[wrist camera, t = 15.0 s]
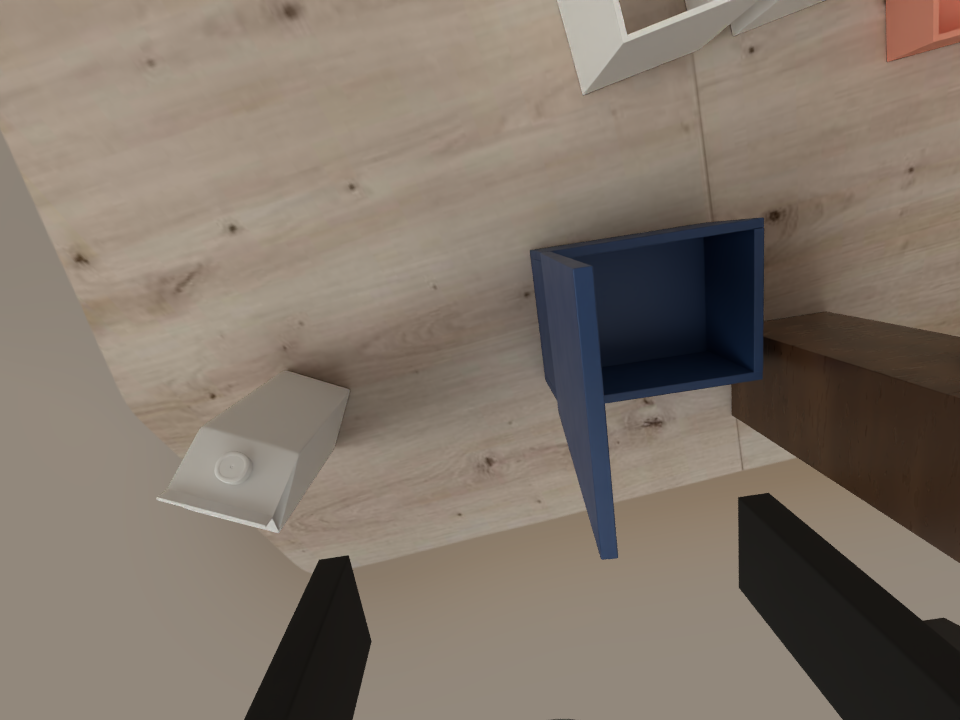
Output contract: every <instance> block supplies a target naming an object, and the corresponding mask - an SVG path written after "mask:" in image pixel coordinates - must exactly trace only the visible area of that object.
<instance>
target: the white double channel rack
mask: <svg viewBox="0 0 960 720" xmlns="http://www.w3.org/2000/svg"><path fill="white" fill-rule="evenodd" d="M823 1H825V0H685V3H686V8H687V11H686V12H683V13H681V14H678V15H676V16H673V17H671V18H668V19H666V20H663V21H661V22H658V23H656V24H653V25H651V26H648V27H646V28H643V29H641V30H638V31H636V32H633V33H631V34H628V35H627V32H626V28H625V24H624V20H623V16H622V12H621V7H620V3H619V0H557V2H558V6H559V9H560V13H561V17H562V20H563V24H564V28H565V31H566V35H567V39H568V42H569V46H570V50H571V53H572V57H573V61H574V64H575V68H576V72H577V75H578V79H579V83H580V86H581V90H582V94H583V95H585V94H588V93H590V92H593V91H595V90H598V89H601V88H603V87H606V86H608V85H611V84H613V83H616V82H618V81H621V80H624V79H626V78H629V77H631V76H634V75H636V74H639V73H641V72H644V71H646V70H649V69H652V68H654V67H657V66H659V65H662V64H664V63H667V62H669V61H672V60H675V59H677V58H680V57H682V56H685V55H687V54H690V53H692V52H695V51H698V50H700V49H701V48H702V47H703V46H705V45H706V44H707V43H708V42H709V41H711V40H712V39H713V38H714V37H715V36H717V35H718V34H719V33H720V32H721V31H723V30H724V29H725V28H726V27H727V26H728V25H730V24H731V30H732V35H733V36H736V35H738V34H741V33H744V32H746V31H749V30H751V29H754V28H756V27H759V26H761V25H764V24H767V23H769V22H772V21H774V20H777V19H779V18H782V17H784V16H787V15H789V14H792V13H795V12H797V11H800V10H802V9H805V8H807V7H810V6H812V5H815V4H818V3H820V2H823Z"/></svg>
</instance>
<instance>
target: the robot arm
mask: <svg viewBox="0 0 960 720" xmlns="http://www.w3.org/2000/svg"><path fill="white" fill-rule="evenodd" d="M738 511H739V512H738V518H739V519H738V520H739V521H738V522H739V588H740V589H741V591H742V592H743V593H744V594H745V596H746V597H747V598H748V600H749V601H750V602H751V604H752V605H753V606H754V607H755V609H756V610H757V611H758V612H759V614H760V615H761V616H762V617H763V619H764V620H765V621H766V623H767V624H768V625H769V626H770V628H771V629H772V630H773V631H774V633H775V634H776V635H777V637H778V638H779V639H780V640H781V642H782V643H783V644H784V645H785V647H786V648H787V649H788V651H789V652H790V653H791V654H792V656H793V657H794V658H795V659H796V661H797V662H798V663H799V665H800V666H801V667H802V668H803V670H804V671H805V672H806V673H807V675H808V676H809V677H810V679H811V680H812V681H813V682H814V684H815V685H816V686H817V687H818V689H819V690H820V691H821V692H822V694H823V695H824V696H825V697H826V699H827V700H828V701H829V703H830V704H831V705H832V706H833V708H834V709H835V710H836V712H837V713H838V714H839V715H840V717H841V718H842V719H843V720H960V626H959V625H957V624H955V623H953V622H951V621H949V620H947V619H945V618H939V619H932V620H925V621H922V620H921V619H920V618H918V617H917V616H916V615H915V614H914V613H913V612H911V611H910V610H909V609H908V608H907V607H905V606H904V605H903V604H902V603H900V602H899V601H898V600H897V599H896V598H894V597H893V596H892V595H891V594H890V593H888V592H887V591H886V590H885V589H883V588H882V587H881V586H880V585H879V584H878V583H876V582H875V581H874V580H873V579H871V578H870V577H869V576H868V575H867V574H866V573H864V572H863V571H862V570H861V569H860V568H858V567H857V566H856V565H855V564H854V563H852V562H851V561H850V560H849V559H848V558H846V557H845V556H844V555H843V554H841V553H840V552H839V551H838V550H837V549H835V548H834V547H833V546H832V545H831V544H829V543H828V542H827V541H826V540H824V539H823V538H822V537H821V536H820V535H819V534H817V533H816V532H815V531H814V530H813V529H811V528H810V527H809V526H808V525H807V524H805V523H804V522H803V521H802V520H801V519H799V518H798V517H797V516H795V515H794V514H793V513H792V512H791V511H790V510H788V509H787V508H786V507H785V506H784V505H782V504H781V503H780V502H779V501H778V500H776V499H775V498H774V497H773V496H772V495H770V494H769V493H765V494H758V495H751V496H744V497H739V498H738ZM370 645H371V638H370V634H369V630H368V627H367V623H366V619H365V615H364V611H363V608H362V604H361V600H360V596H359V593H358V589H357V585H356V582H355V577H354V574H353V570H352V566H351V562H350V559H349V555H348V556H341V557H335V558H328V559H321V560H319V561H318V563H317V566H316V568H315V570H314V572H313V574H312V576H311V578H310V581H309V583H308V585H307V587H306V589H305V591H304V593H303V595H302V598H301V600H300V602H299V604H298V607H297V608H296V611H295V612H294V615H293V617H292V619H291V621H290V623H289V625H288V627H287V629H286V632H285V634H284V636H283V638H282V640H281V642H280V644H279V647H278V649H277V651H276V653H275V655H274V657H273V659H272V662H271V664H270V666H269V668H268V670H267V672H266V674H265V676H264V679H263V681H262V683H261V685H260V687H259V689H258V691H257V693H256V695H255V698H254V700H253V702H252V704H251V706H250V708H249V710H248V712H247V715H246V717H245V719H244V720H352V719H353V715H354V711H355V707H356V703H357V698H358V695H359V690H360V686H361V682H362V678H363V674H364V670H365V666H366V661H367V658H368V653H369V649H370Z"/></svg>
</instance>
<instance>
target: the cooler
mask: <svg viewBox="0 0 960 720" xmlns="http://www.w3.org/2000/svg"><path fill="white" fill-rule="evenodd" d="M763 227H764V218H752V219H740V220H729V221H718V222H706V223H700V224H694V225H687V226H681V227H675V228H668V229H662V230H656V231H649V232H643V233H637V234H630V235H624V236H618V237H611V238H605V239H598V240H592V241H586V242H579V243H573V244H567V245H560V246H554V247H548V248H541V249H535V250H530V256H531V265H532V273H533V281H534V289H535V298H536V306H537V314H538V322H539V331H540V339H541V347H542V355H543V364H544V372H545V380H546V382H547V384H548V385H549V387H550V389H551V391H552V392H553V394H554V396H555V398H556V399H557V393H556V385H555V376H554V367H553V359H552V350H551V341H550V333H549V324H548V315H547V307H546V298H545V289H544V281H543V272H542V264H541V255H540V253H543V252H549V251H550V252H553V253H556V254H559V255H562V256H565V257H568V258H570V259H573V260H576V261H579V262H582V263H585V264H588V265H591V266H593V275H594V286H595V298H596V309H597V321H598V332H599V344H600V355H601V367H602V378H603V390H604V401H605V403H611V402H618V401H624V400H631V399H637V398H644V397H650V396H657V395H664V394H670V393H677V392H683V391H690V390H696V389H703V388H709V387H716V386H722V385H729V384H736V383H742V382H749V381H755V380H762V379H763V308H764V228H763Z"/></svg>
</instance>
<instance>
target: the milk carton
mask: <svg viewBox="0 0 960 720" xmlns="http://www.w3.org/2000/svg"><path fill="white" fill-rule="evenodd" d="M349 393H350V390H349V389H347V388H344V387H340V386H337V385H334V384H330V383H327V382H323V381H320V380H317V379H313V378H310V377H307V376H303V375H300V374H297V373H293V372H290V371H286V370H284V371H282V372H280V373H279V374H278V375H276V376H275V377H273V378H272V379H270V380H269V381H267V382H266V383H264V384H263V385H261V386H260V387H259V388H257V389H256V390H254V391H253V392H251V393H250V394H248V395H247V396H245V397H244V398H242V399H241V400H240V401H238V402H237V403H235V404H234V405H232V406H231V407H229V408H228V409H226V410H225V411H223V412H222V413H221V414H219V415H218V416H216V417H215V418H213V419H212V420H210V421H209V422H207V423H206V424H205V425H203V426H202V427H201V428H200V429H199V431H198V433H197V435H196V436H195V438H194V440H193V442H192V444H191V446H190V448H189V449H188V451H187V453H186V455H185V457H184V459H183V460H182V462H181V464H180V466H179V468H178V470H177V472H176V473H175V475H174V477H173V479H172V481H171V482H170V484H169V486H168V488H167V489H166V490H165V491H164V492H163V493H162V494H160V495H159V496H158V497H157V500H158V501H162V502H166V503H170V504H174V505H178V506H181V507H184V508H185V509H188V510H192V511H195V512H199V513H203V514H207V515H211V516H214V517H219V518H222V519H226V520H230V521H234V522H237V523H241V524H245V525H249V526H253V527H257V528H261V529H264V530H268V531H272V532H276V533H279V532H280V531H281V529H282V528H283V526H284V524H285V523H286V521H287V520H288V518H289V517H290V515H291V514H292V512H293V511H294V509H295V508H296V506H297V505H298V503H299V502H300V500H301V499H302V497H303V496H304V494H305V492H306V491H307V489H308V488H309V486H310V485H311V483H312V482H313V480H314V479H315V477H316V476H317V474H318V473H319V471H320V470H321V468H322V467H323V465H324V463H325V462H326V460H327V459H328V457H329V456H330V454H331V453H332V451H333V450H334V448H335V444H336V441H337V437H338V433H339V430H340V426H341V422H342V419H343V415H344V411H345V408H346V404H347V400H348V397H349Z"/></svg>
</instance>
